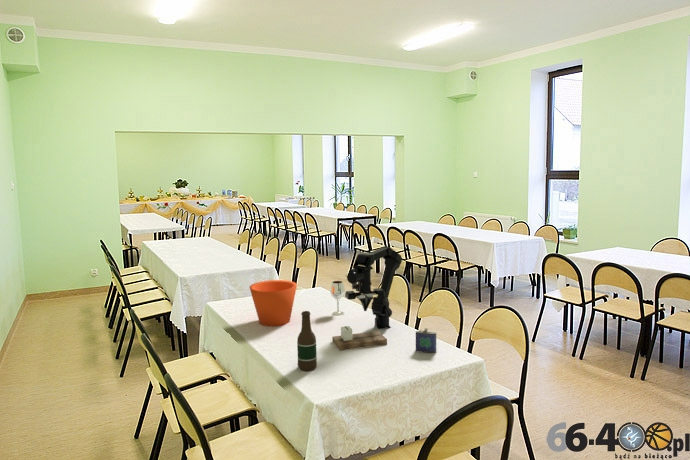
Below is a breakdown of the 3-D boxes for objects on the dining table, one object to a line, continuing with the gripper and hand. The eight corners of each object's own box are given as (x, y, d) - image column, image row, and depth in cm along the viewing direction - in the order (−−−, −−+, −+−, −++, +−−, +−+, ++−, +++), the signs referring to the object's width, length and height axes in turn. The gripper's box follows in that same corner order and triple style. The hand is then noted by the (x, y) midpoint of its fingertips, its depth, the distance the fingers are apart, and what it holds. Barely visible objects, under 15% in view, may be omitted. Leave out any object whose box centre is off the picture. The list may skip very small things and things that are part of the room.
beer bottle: (298, 364, 215) (296, 309, 212) (316, 363, 216) (315, 308, 212) (298, 372, 207) (296, 315, 204) (317, 371, 208) (315, 314, 205)
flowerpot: (241, 326, 266) (240, 289, 264) (266, 312, 289) (265, 278, 287) (284, 331, 257) (282, 293, 254) (306, 317, 280) (305, 281, 277)
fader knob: (349, 336, 240) (349, 325, 239) (352, 339, 235) (352, 329, 234) (341, 337, 238) (340, 326, 238) (344, 340, 234) (343, 330, 233)
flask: (436, 351, 227) (436, 328, 225) (436, 353, 224) (436, 330, 223) (416, 349, 229) (415, 326, 228) (415, 351, 227) (414, 328, 225)
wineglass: (343, 315, 281) (343, 284, 278) (329, 315, 282) (328, 283, 280) (346, 311, 288) (346, 280, 286) (332, 311, 290) (331, 280, 288)
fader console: (377, 335, 248) (377, 330, 247) (387, 344, 236) (387, 338, 236) (332, 341, 241) (332, 336, 241) (339, 350, 230) (339, 344, 229)
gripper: (377, 274, 257) (377, 304, 259) (341, 277, 251) (342, 308, 253) (385, 279, 246) (385, 310, 248) (348, 282, 241) (348, 314, 243)
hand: (365, 310), depth 248 cm, fingers closed
